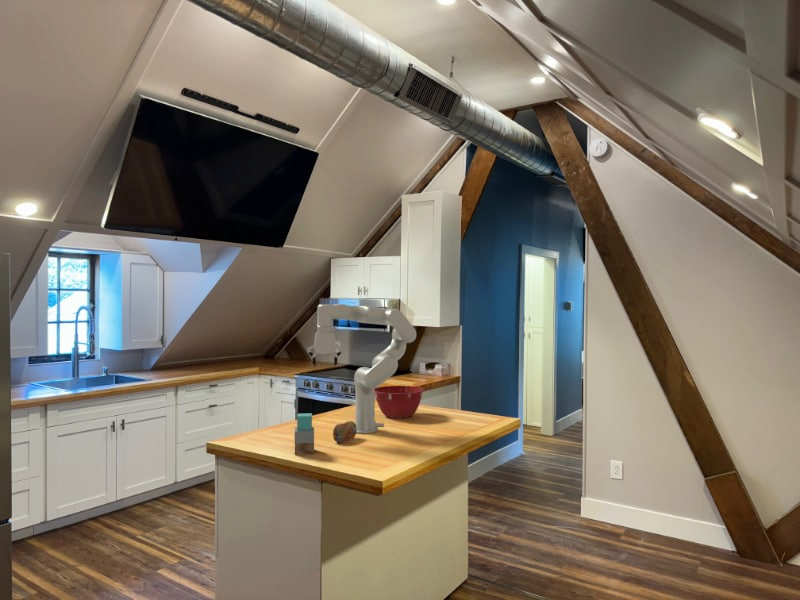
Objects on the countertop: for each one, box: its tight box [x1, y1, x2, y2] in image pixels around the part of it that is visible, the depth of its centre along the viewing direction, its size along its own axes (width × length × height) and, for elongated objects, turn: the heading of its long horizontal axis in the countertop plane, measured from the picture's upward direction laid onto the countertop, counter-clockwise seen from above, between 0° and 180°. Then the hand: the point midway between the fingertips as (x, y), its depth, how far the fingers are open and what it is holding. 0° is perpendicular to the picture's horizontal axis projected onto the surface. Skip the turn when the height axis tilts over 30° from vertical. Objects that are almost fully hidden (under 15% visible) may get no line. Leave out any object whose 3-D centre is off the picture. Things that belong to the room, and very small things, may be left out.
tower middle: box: [294, 426, 315, 444], centre depth 240 cm, size 8×8×5 cm
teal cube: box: [296, 412, 313, 431], centre depth 240 cm, size 6×6×6 cm
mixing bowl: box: [374, 385, 424, 419], centre depth 317 cm, size 28×28×16 cm
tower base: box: [294, 442, 315, 456], centre depth 240 cm, size 8×8×5 cm
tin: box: [332, 420, 357, 444], centre depth 261 cm, size 15×3×8 cm, turn 148°
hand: (324, 365), depth 271 cm, fingers open, 9 cm apart
